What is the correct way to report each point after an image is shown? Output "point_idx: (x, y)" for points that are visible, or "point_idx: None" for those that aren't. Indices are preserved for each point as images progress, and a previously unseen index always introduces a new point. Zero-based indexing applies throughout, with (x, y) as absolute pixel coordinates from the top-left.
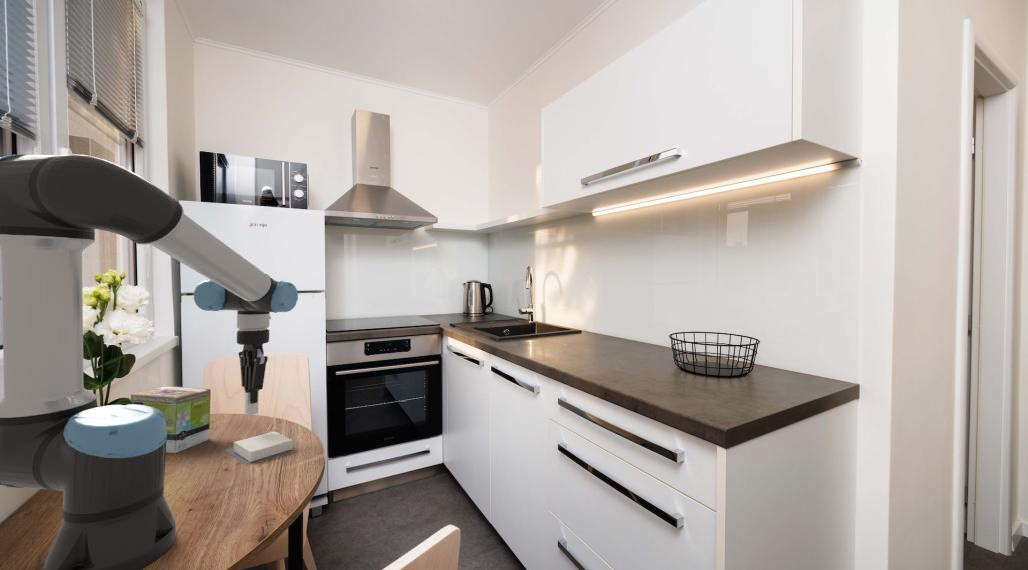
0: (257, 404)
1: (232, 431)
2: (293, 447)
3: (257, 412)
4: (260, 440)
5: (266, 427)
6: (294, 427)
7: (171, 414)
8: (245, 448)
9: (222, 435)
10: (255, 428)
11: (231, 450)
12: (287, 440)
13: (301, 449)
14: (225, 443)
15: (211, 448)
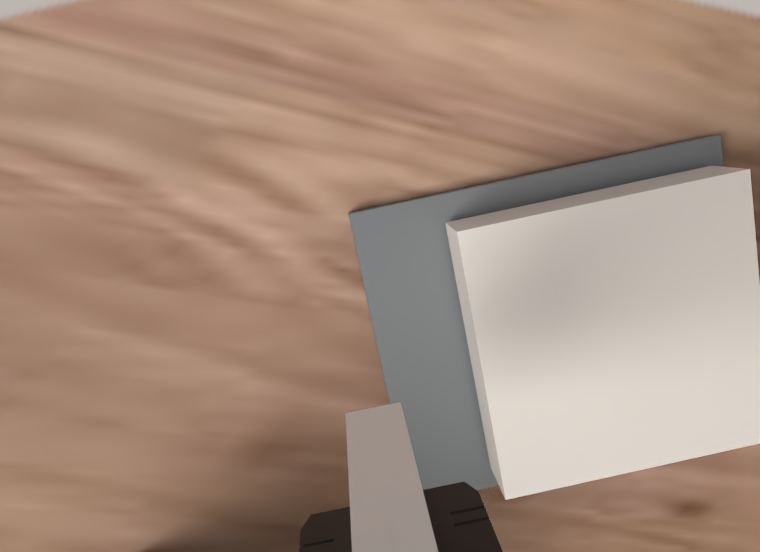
0: (413, 453)
1: (3, 415)
2: (667, 146)
3: (401, 410)
4: (595, 356)
5: (44, 197)
6: (178, 7)
7: None
8: (682, 456)
9: (62, 477)
10: (22, 271)
11: (449, 470)
12: (732, 202)
13: (699, 101)
14: (250, 476)
15: (295, 547)
